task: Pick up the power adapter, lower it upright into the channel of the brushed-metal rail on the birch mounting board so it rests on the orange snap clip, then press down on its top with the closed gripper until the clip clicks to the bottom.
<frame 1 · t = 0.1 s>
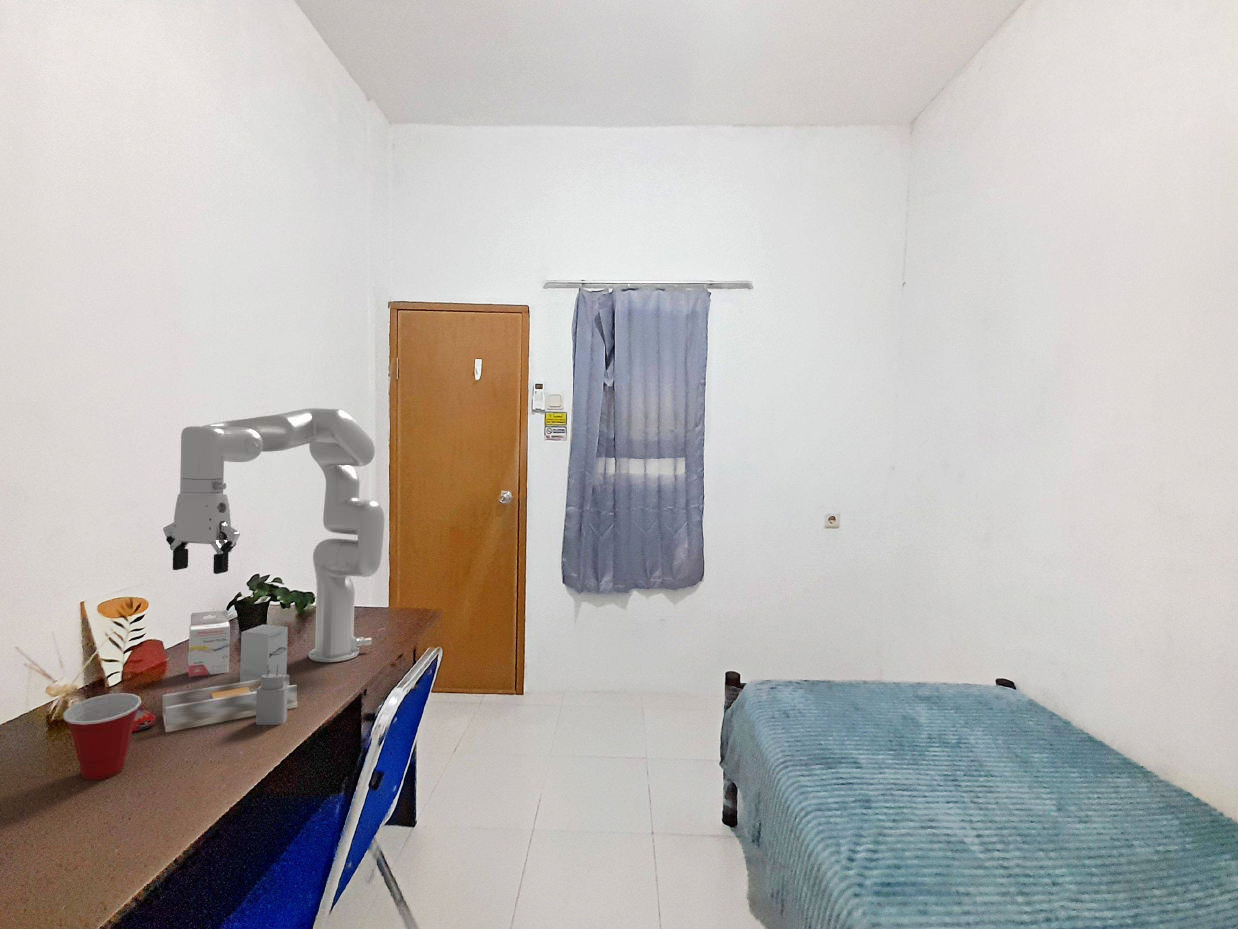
hand: (200, 570, 139), 31 cm above the table, tool pointing down, fingers open, 9 cm apart
rail board: (231, 711, 146), on the table
ink cartridge box: (208, 673, 168), on the table
power adapter: (271, 722, 141), on the table
supplement box: (263, 681, 164), on the table
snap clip: (231, 696, 146), point 3 cm above the table, slide at 0.0 cm
race car: (126, 725, 138), on the table
plastic cup: (102, 774, 118), on the table
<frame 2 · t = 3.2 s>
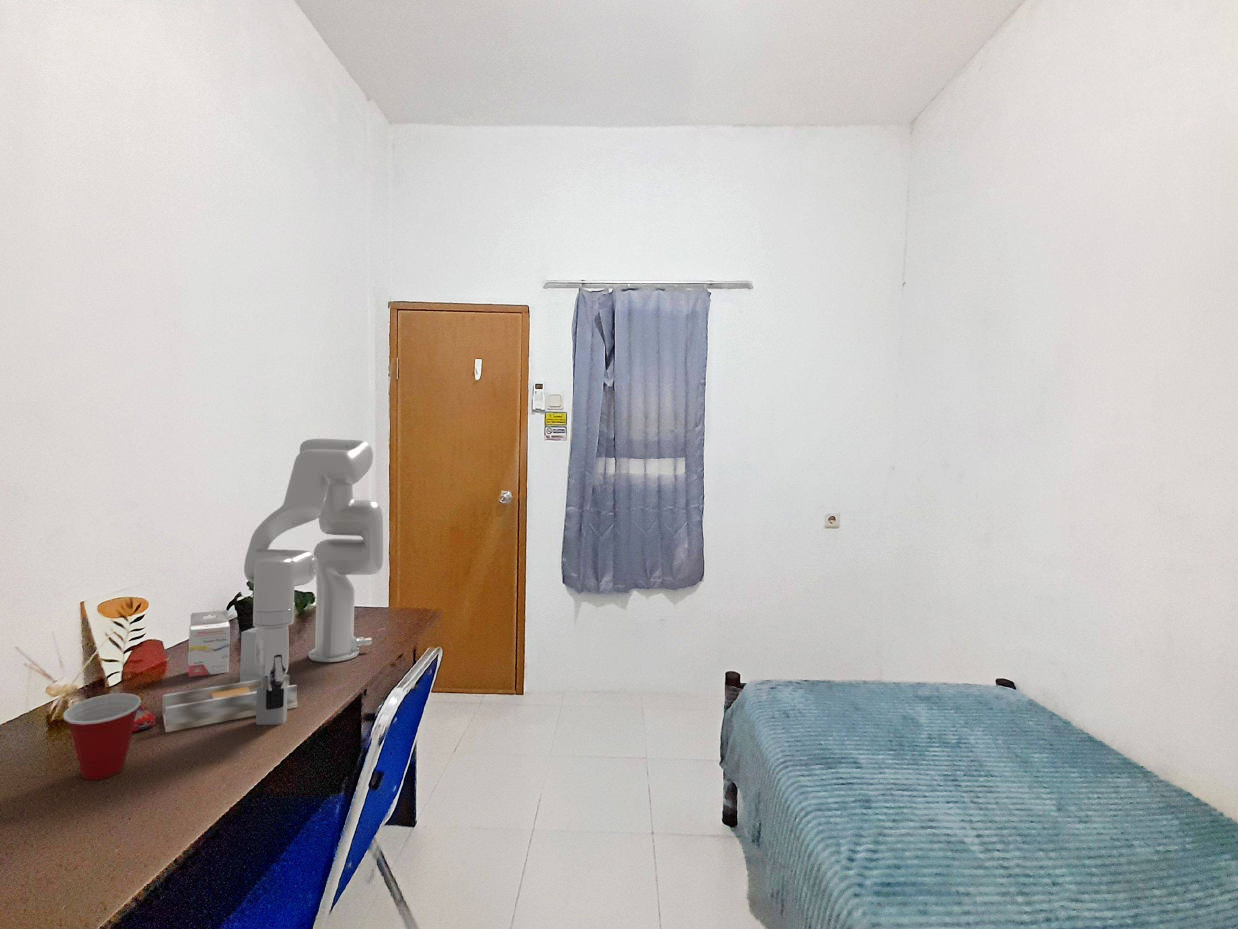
hand: (271, 702, 141), 4 cm above the table, tool pointing down, fingers closed on power adapter, 4 cm apart
power adapter: (271, 722, 141), on the table, touching gripper
everything else where it was.
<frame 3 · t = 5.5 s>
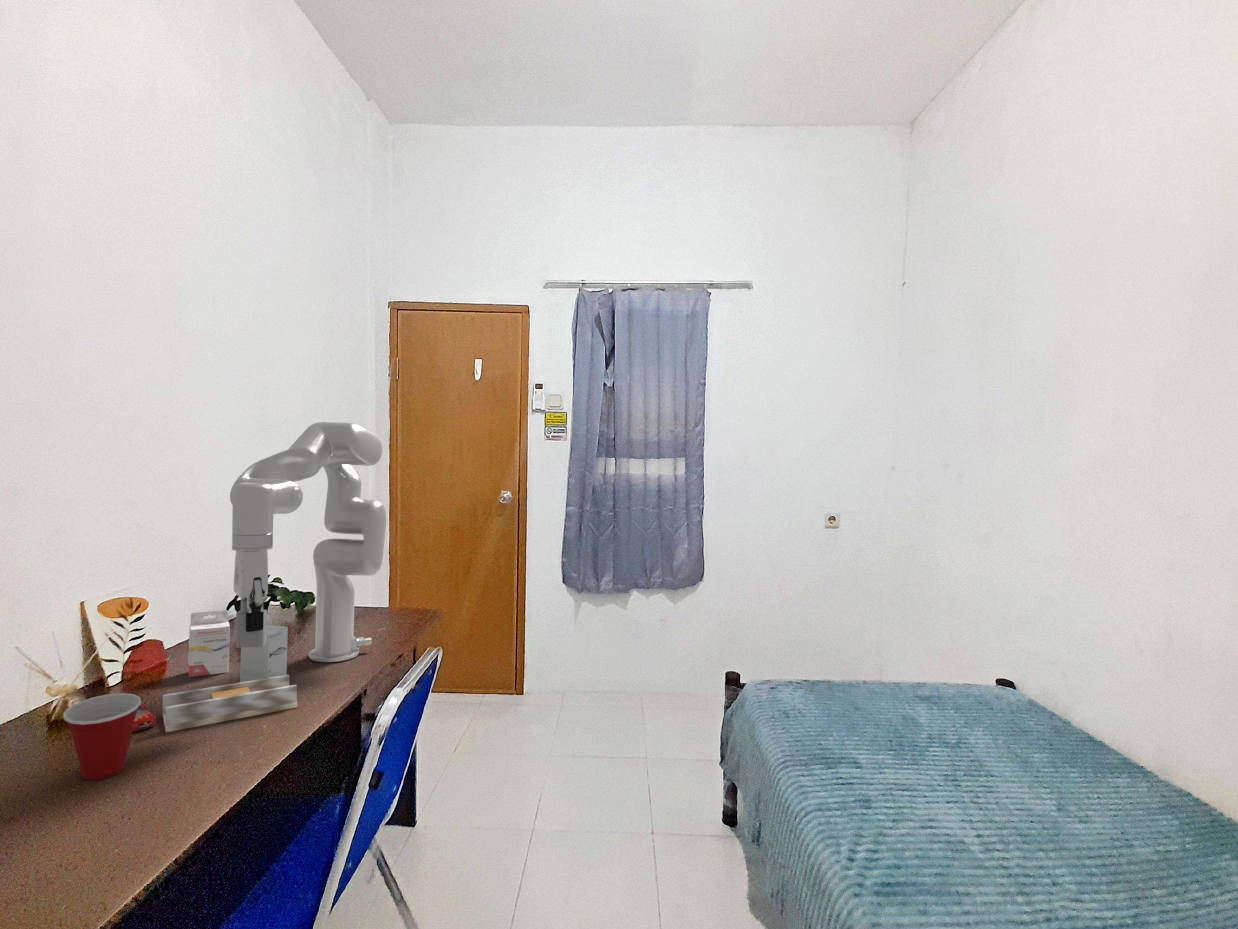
hand: (251, 626, 143), 19 cm above the table, tool pointing down, fingers closed on power adapter, 4 cm apart
power adapter: (251, 646, 144), point 15 cm above the table, touching gripper
everything else where it was.
when the fingers open (9 cm above the table, at t = 8.2 s): power adapter drops 3 cm, resting on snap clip.
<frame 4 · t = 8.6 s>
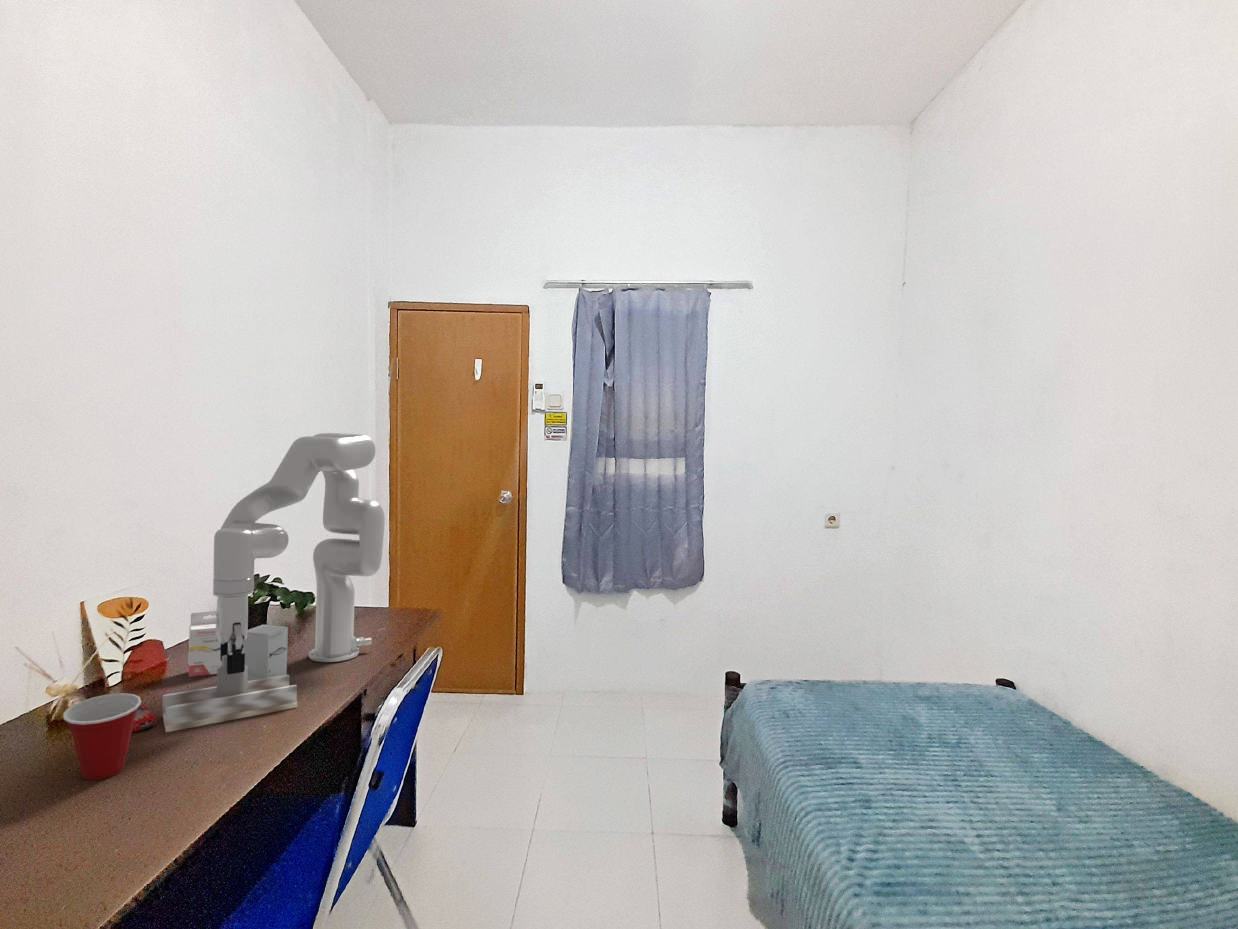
hand: (232, 666, 145), 10 cm above the table, tool pointing down, fingers open, 9 cm apart
power adapter: (231, 701, 146), point 2 cm above the table, touching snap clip
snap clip: (231, 703, 146), point 2 cm above the table, slide at 1.5 cm, touching power adapter, rail board
everything else where it was.
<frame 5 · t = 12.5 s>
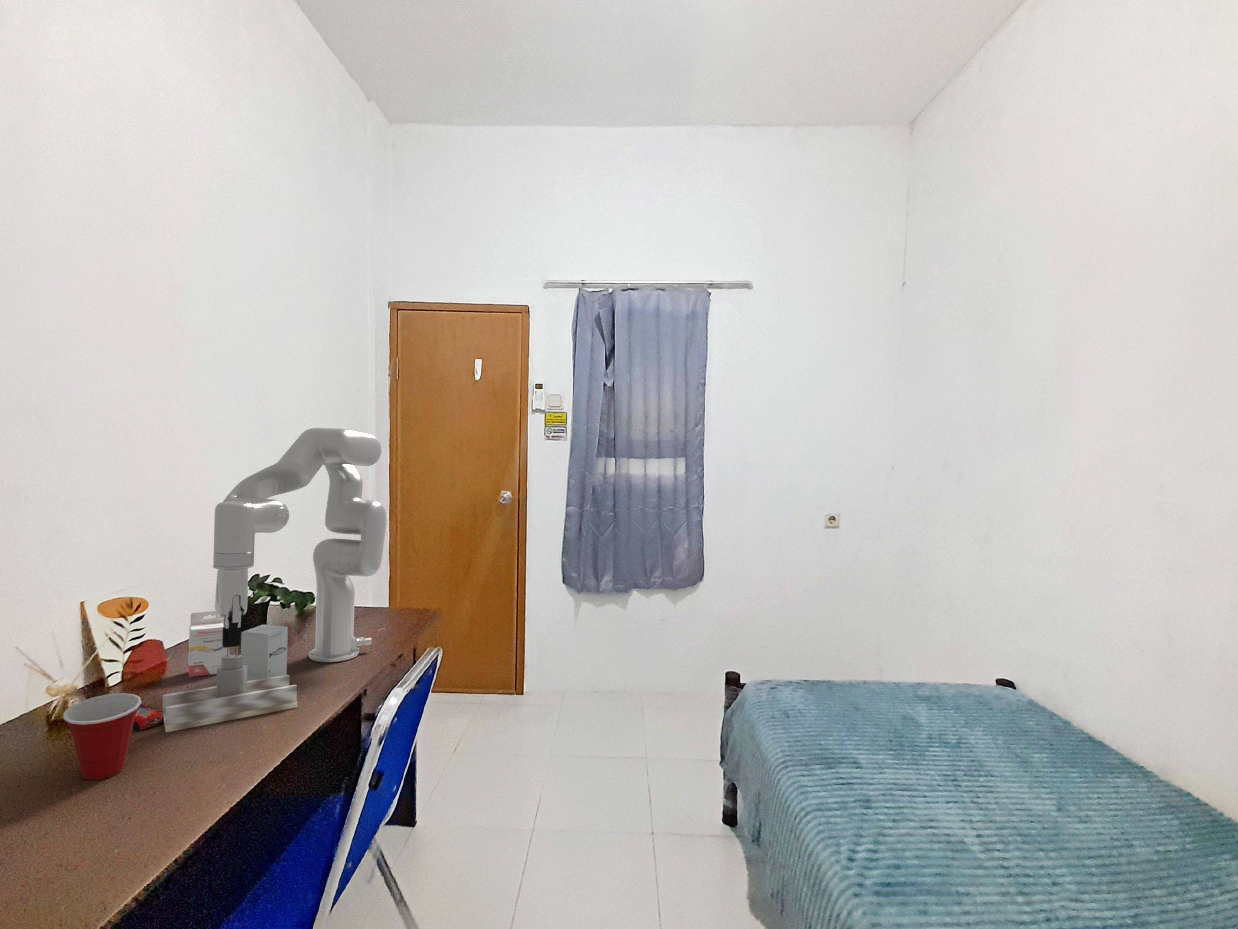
hand: (231, 645, 145), 14 cm above the table, tool pointing down, fingers closed
power adapter: (231, 701, 146), point 2 cm above the table, touching gripper, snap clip
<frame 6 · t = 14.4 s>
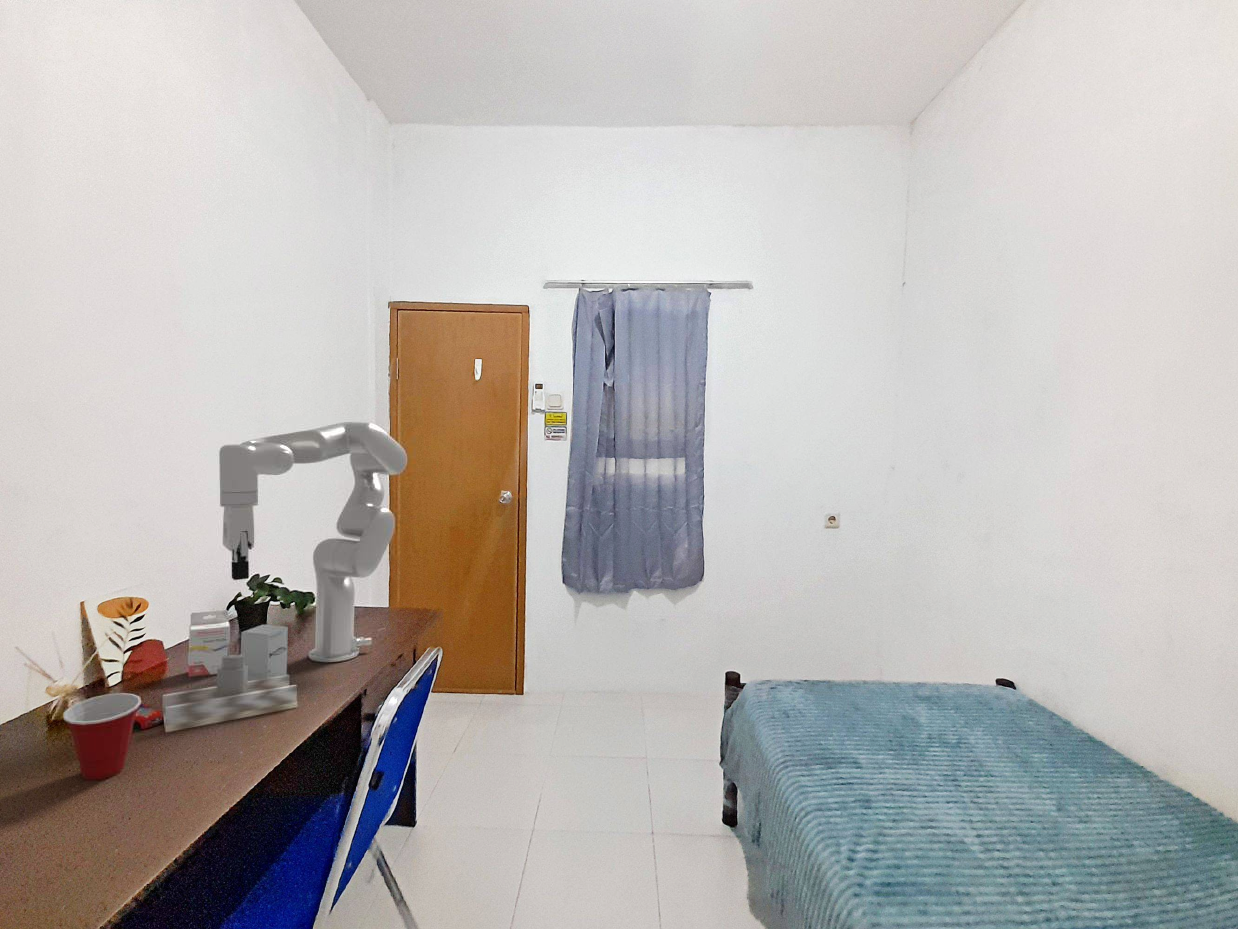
hand: (240, 578, 156), 26 cm above the table, tool pointing down, fingers closed
power adapter: (231, 701, 146), point 2 cm above the table, touching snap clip
everything else where it was.
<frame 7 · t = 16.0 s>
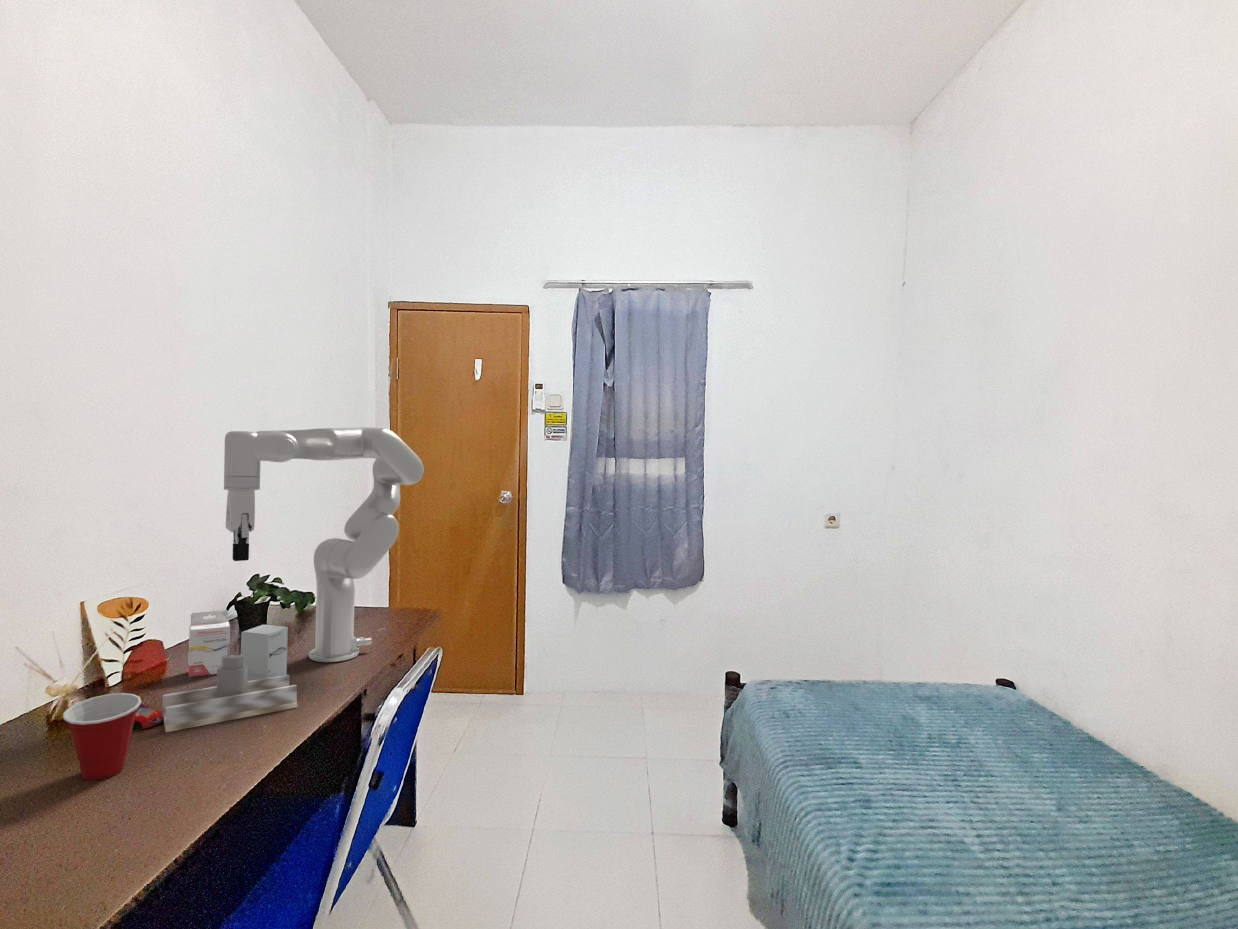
hand: (240, 560, 162), 29 cm above the table, tool pointing down, fingers closed
nothing on the table moved.
at the end: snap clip slide at 1.5 cm; power adapter 0.1 cm off-centre on the rail board, point 2.0 cm above the rail board's base; power adapter tilted 0° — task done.
